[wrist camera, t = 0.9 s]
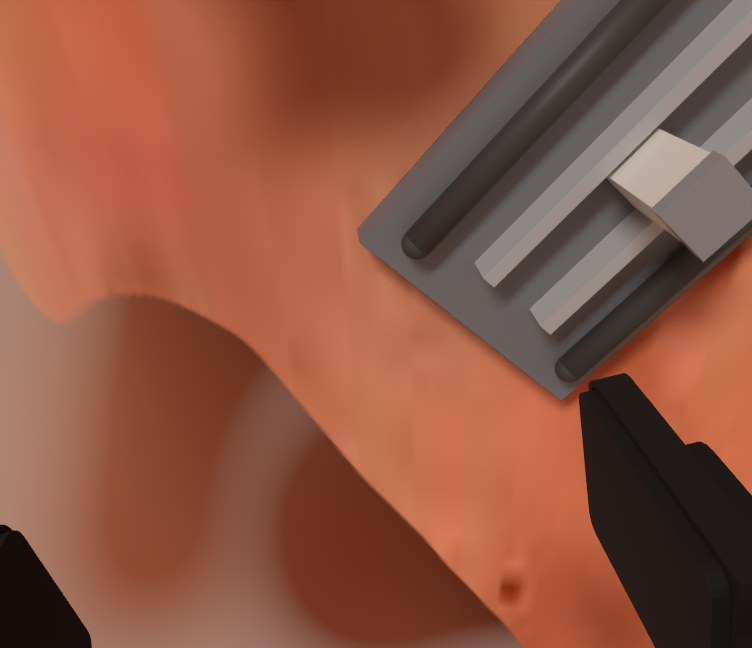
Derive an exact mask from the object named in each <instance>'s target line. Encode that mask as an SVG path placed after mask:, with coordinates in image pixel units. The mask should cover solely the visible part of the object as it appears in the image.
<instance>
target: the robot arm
mask: <svg viewBox="0 0 752 648" xmlns="http://www.w3.org/2000/svg"><path fill="white" fill-rule="evenodd" d="M579 405H580V416H581V427H582V438H583V449H584V460H585V471H586V482H587V493H588V503H589V513H590V518H591V522H592V525H593V528H594V531H595V533H596V535H597V537H598V539H599V541H600V543H601V545H602V547H603V549H604V550H605V552H606V554H607V556H608V558H609V560H610V562H611V564H612V566H613V568H614V570H615V571H616V573H617V575H618V577H619V579H620V581H621V583H622V585H623V587H624V589H625V591H626V592H627V594H628V596H629V598H630V600H631V602H632V604H633V606H634V608H635V610H636V612H637V614H638V615H639V617H640V619H641V621H642V623H643V625H644V627H645V629H646V631H647V633H648V635H649V636H650V638H651V640H652V642H653V644H654V646H655V648H752V495H751V494H750V493H749V492H748V491H747V490H746V488H745V487H744V486H743V485H742V484H741V483H740V481H739V480H738V479H737V478H736V477H735V476H734V474H733V473H732V472H731V471H730V470H729V469H728V467H727V466H726V465H725V464H724V463H723V462H722V461H721V459H720V458H719V457H718V456H717V455H716V454H715V452H714V451H713V450H712V449H711V448H710V447H709V446H707V445H706V444H704V443H702V442H696V443H691V444H687V445H685V444H684V443H683V441H682V440H681V439H680V438H679V436H678V435H677V434H676V433H675V432H674V430H673V429H672V428H671V427H670V425H669V424H668V423H667V422H666V420H665V419H664V418H663V417H662V416H661V414H660V413H659V412H658V411H657V409H656V408H655V407H654V406H653V404H652V403H651V402H650V401H649V400H648V398H647V397H646V396H645V395H644V393H643V392H642V391H641V390H640V389H639V387H638V386H637V385H636V384H635V382H634V381H633V380H632V379H631V377H630V376H628V375H627V374H625V373H622V374H618V375H614V376H610V377H606V378H602V379H598V380H594V381H591V382H590V383H589V391H587V392H583V393H580V395H579ZM91 647H92V646H91V638H90V635H89V632H88V631H87V629H86V628H85V626H84V625H83V623H82V622H81V620H80V619H79V617H78V616H77V614H76V613H75V611H74V610H73V608H72V607H71V605H70V604H69V602H68V601H67V599H66V598H65V597H64V595H63V594H62V592H61V591H60V589H59V588H58V586H57V585H56V583H55V582H54V580H53V579H52V577H51V576H50V574H49V573H48V571H47V570H46V568H45V567H44V566H43V564H42V562H41V561H40V560H39V558H38V557H37V555H36V554H35V552H34V551H33V549H32V548H31V546H30V545H29V543H28V542H27V540H26V539H25V537H24V536H23V535H22V534H21V533H20V532H19V531H12V530H11V528H9V527H8V526H6V525H0V648H91Z"/></svg>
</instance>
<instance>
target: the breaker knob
mask: <svg viewBox="0 0 752 648" xmlns="http://www.w3.org/2000/svg"><path fill="white" fill-rule="evenodd" d="M606 178H607V179H608V180H609V182H610V183H611V184H612V185H613V186H614V187H615V188H616V189H617V190H618V191H619V192H620V193H621V194H622V195H623V196H624V197H625V198H626V199H627V200H628V201H629V202H630V203H631V204H632V205H633V206H634V207H635V208H636V209H638V210H639V211H640V212H642V213H643V214H644V215H646V216H647V217H648V218H650V219H651V220H653V221H654V222H655V223H657V224H658V225H659V226H661V227H662V228H663V229H665V230H666V231H667V232H669V233H670V234H671V235H673V236H674V237H675V238H677V239H678V240H679V241H681V242H682V243H683V244H684V245H685V246H686V247H687V248H688V249H689V250H690V251H691V252H692V253H693V254H694V255H695V256H696V257H698V258H699V259H700V260H702V261H703V262H704V261H705V260H706V259H707V258H709V257H710V256H711V255H712V254H713V253H714V252H715V251H717V250H718V249H719V248H720V247H721V246H722V245H723V244H724V243H726V242H727V241H728V240H729V239H730V238H731V237H732V236H734V235H735V234H736V233H737V232H738V231H739V230H740V229H741V228H743V227H744V226H745V225H746V224H747V223H748V222H749V221H751V220H752V187H751V186H750V185H749V184H748V183H747V181H746V180H745V179H744V178H743V177H742V176H741V174H740V173H739V172H738V171H737V170H736V168H735V167H734V166H733V165H732V164H731V163H730V161H729V160H728V159H727V158H726V157H725V156H724V155H723V154H720V153H718V152H716V151H714V150H713V151H712V152H711V153H710V152H708V151H706V150H704V149H701V148H699V147H697V146H695V145H693V144H691V143H689V142H686V141H684V140H682V139H680V138H678V137H676V136H674V135H672V134H669V133H667V132H665V131H663V130H661V129H659V128H656V129H654V130H653V131H652V132H651V133H650V134H649V135H648V136H647V137H646V138H645V139H644V140H643V141H642V142H641V143H640V144H639V145H638V146H637V147H636V148H635V149H634V150H633V151H632V152H631V153H630V154H629V155H628V156H627V157H626V158H625V159H624V160H623V161H622V162H621V163H620V164H619V165H618V166H617V167H616V168H615V169H614V170H613V171H612V172H611V173H610V174H609V175H608V176H607V177H606Z"/></svg>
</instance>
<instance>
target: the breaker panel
mask: <svg viewBox="0 0 752 648" xmlns="http://www.w3.org/2000/svg"><path fill="white" fill-rule="evenodd" d="M656 128H659V129H661V130H663V131H665V132H667V133H669V134H672V135H674V136H676V137H678V138H680V139H682V140H684V141H686V142H689V143H691V144H693V145H695V146H697V147H699V148H701V149H704V150H706V151H708V152H710V153H711V152H712V151H713V150H714V151H716V152H718V153H720V154H723V155H724V156H725V157H726V158H727V159H728V160H729V161H730V163H731V164H732V165H733V166H734V167H735V168H736V170H737V171H738V172H739V173H740V174H741V176H742V177H743V178H744V179H745V180H746V181H747V183H748V184H749V185H750V186H751V187H752V0H561V1H560V2H559V3H558V4H557V5H556V7H555V8H554V9H553V10H552V11H551V12H550V13H549V14H548V16H547V17H546V18H545V19H544V20H543V21H542V22H541V23H540V25H539V26H538V27H537V28H536V29H535V30H534V31H533V32H532V34H531V35H530V36H529V37H528V38H527V39H526V40H525V41H524V43H523V44H522V45H521V46H520V47H519V48H518V49H517V50H516V52H515V53H514V54H513V55H512V56H511V57H510V58H509V59H508V61H507V62H506V63H505V64H504V65H503V66H502V67H501V68H500V70H499V71H498V72H497V73H496V74H495V75H494V76H493V77H492V78H491V80H490V81H489V82H488V83H487V84H486V85H485V86H484V87H483V89H482V90H481V91H480V92H479V93H478V94H477V95H476V96H475V98H474V99H473V100H472V101H471V102H470V103H469V104H468V105H467V107H466V108H465V109H464V110H463V111H462V112H461V113H460V114H459V116H458V117H457V118H456V119H455V120H454V121H453V122H452V123H451V125H450V126H449V127H448V128H447V129H446V130H445V131H444V132H443V134H442V135H441V136H440V137H439V138H438V139H437V140H436V141H435V143H434V144H433V145H432V146H431V147H430V148H429V149H428V150H427V152H426V153H425V154H424V155H423V156H422V157H421V158H420V159H419V161H418V162H417V163H416V164H415V165H414V166H413V167H412V168H411V170H410V171H409V172H408V173H407V174H406V175H405V176H404V177H403V179H402V180H401V181H400V182H399V183H398V184H397V185H396V186H395V188H394V189H393V190H392V191H391V192H390V193H389V194H388V195H387V196H386V198H385V199H384V200H383V201H382V202H381V203H380V204H379V205H378V207H377V208H376V209H375V210H374V211H373V212H372V213H371V214H370V216H369V217H368V218H367V219H366V220H365V221H364V222H363V223H362V225H361V226H360V227H359V228H358V229H357V230H358V235H359V241H360V243H361V244H362V245H363V246H364V247H366V248H367V249H368V250H369V251H371V252H372V253H373V254H375V255H376V256H377V257H378V258H380V259H381V260H382V261H383V262H385V263H386V264H387V265H389V266H390V267H391V268H392V269H394V270H395V271H396V272H397V273H399V274H400V275H401V276H402V277H404V278H405V279H406V280H408V281H409V282H410V283H411V284H413V285H414V286H415V287H416V288H418V289H419V290H420V291H422V292H423V293H424V294H425V295H427V296H428V297H429V298H430V299H432V300H433V301H434V302H436V303H437V304H438V305H439V306H441V307H442V308H443V309H444V310H446V311H447V312H448V313H450V314H451V315H452V316H453V317H455V318H456V319H457V320H458V321H460V322H461V323H462V324H464V325H465V326H466V327H467V328H469V329H470V330H471V331H472V332H474V333H475V334H476V335H478V336H479V337H480V338H481V339H483V340H484V341H485V342H486V343H488V344H489V345H490V346H492V347H493V348H494V349H495V350H497V351H498V352H499V353H500V354H502V355H503V356H504V357H506V358H507V359H508V360H509V361H511V362H512V363H513V364H514V365H516V366H517V367H518V368H519V369H521V370H522V371H523V372H525V373H526V374H527V375H528V376H530V377H531V378H532V379H533V380H535V381H536V382H537V383H539V384H540V385H541V386H542V387H544V388H545V389H546V390H547V391H549V392H550V393H551V394H553V395H554V396H555V397H556V398H558V399H559V400H560V401H561V400H563V399H564V398H565V397H566V396H567V395H568V394H569V393H571V392H572V391H573V390H574V389H575V388H576V387H577V386H579V385H580V384H581V383H582V382H583V381H584V380H585V379H587V378H588V377H589V376H590V375H591V374H592V373H593V372H595V371H596V370H597V369H598V368H599V367H600V366H601V365H603V364H604V363H605V362H606V361H607V360H608V359H609V358H611V357H612V356H613V355H614V354H615V353H616V352H617V351H619V350H620V349H621V348H622V347H623V346H624V345H625V344H627V343H628V342H629V341H630V340H631V339H632V338H633V337H635V336H636V335H637V334H638V333H639V332H640V331H642V330H643V329H644V328H645V327H646V326H647V325H648V324H650V323H651V322H652V321H653V320H654V319H655V318H656V317H658V316H659V315H660V314H661V313H662V312H663V311H664V310H666V309H667V308H668V307H669V306H670V305H671V304H672V303H674V302H675V301H676V300H677V299H678V298H679V297H680V296H682V295H683V294H684V293H685V292H686V291H687V290H688V289H690V288H691V287H692V286H693V285H694V284H695V283H696V282H698V281H699V280H700V279H701V278H702V277H703V276H704V275H706V274H707V273H708V272H709V271H710V270H711V269H712V268H714V267H715V266H716V265H717V264H718V263H719V262H720V261H722V260H723V259H724V258H725V257H726V256H727V255H728V254H730V253H731V252H732V251H733V250H734V249H735V248H736V247H738V246H739V245H740V244H741V243H742V242H743V241H744V240H746V239H747V238H748V237H749V236H750V235H751V234H752V220H751V221H749V222H748V223H747V224H746V225H745V226H744V227H743V228H741V229H740V230H739V231H738V232H737V233H736V234H735V235H734V236H732V237H731V238H730V239H729V240H728V241H727V242H726V243H724V244H723V245H722V246H721V247H720V248H719V249H718V250H717V251H715V252H714V253H713V254H712V255H711V256H710V257H709V258H707V259H706V260H705V261H704V262H703V261H702V260H700V259H699V258H698V257H696V256H695V255H694V254H693V253H692V252H691V251H690V250H689V249H688V248H687V247H686V246H685V245H684V244H683V243H682V242H681V241H679V240H678V239H677V238H675V237H674V236H673V235H671V234H670V233H669V232H667V231H666V230H665V229H663V228H662V227H661V226H659V225H658V224H657V223H655V222H654V221H653V220H651V219H650V218H648V217H647V216H646V215H644V214H643V213H642V212H640V211H639V210H638V209H636V208H635V207H634V206H633V205H632V204H631V203H630V202H629V201H628V200H627V199H626V198H625V197H624V196H623V195H622V194H621V193H620V192H619V191H618V190H617V189H616V188H615V187H614V186H613V185H612V184H611V183H610V182H609V180H608V179H607V178H606V177H607V176H608V175H609V174H610V173H611V172H612V171H613V170H614V169H615V168H616V167H617V166H618V165H619V164H620V163H621V162H622V161H623V160H624V159H625V158H626V157H627V156H628V155H629V154H630V153H631V152H632V151H633V150H634V149H635V148H636V147H637V146H638V145H639V144H640V143H641V142H642V141H643V140H644V139H645V138H646V137H647V136H648V135H649V134H650V133H651V132H652V131H653V130H654V129H656Z"/></svg>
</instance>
